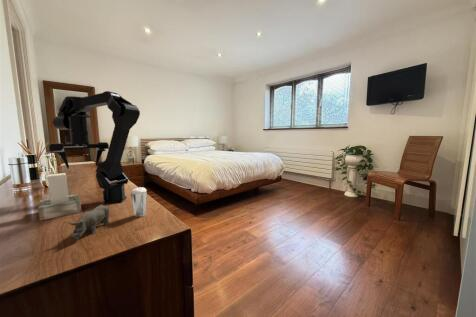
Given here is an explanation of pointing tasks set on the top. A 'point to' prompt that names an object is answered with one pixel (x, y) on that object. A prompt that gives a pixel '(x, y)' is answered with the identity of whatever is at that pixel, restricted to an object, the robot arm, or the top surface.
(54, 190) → the peg
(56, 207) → the coin box
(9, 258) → the top surface
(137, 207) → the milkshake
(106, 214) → the rhino figurine
